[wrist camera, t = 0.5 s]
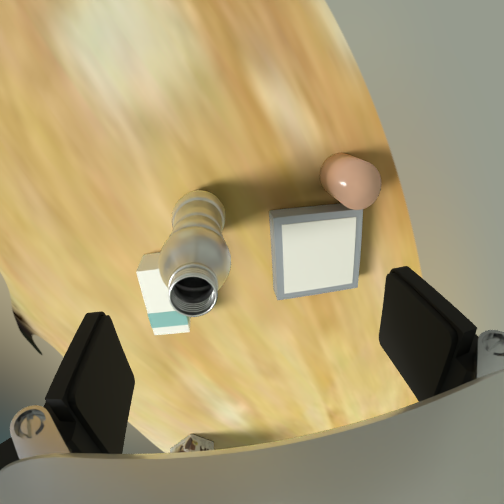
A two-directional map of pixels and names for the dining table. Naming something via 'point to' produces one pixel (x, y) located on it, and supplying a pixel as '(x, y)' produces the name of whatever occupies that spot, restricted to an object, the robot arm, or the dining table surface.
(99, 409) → the robot arm
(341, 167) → the pink smooth rounded part
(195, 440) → the coffee box
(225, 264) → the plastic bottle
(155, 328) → the lying carton
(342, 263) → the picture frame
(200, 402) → the dining table surface
